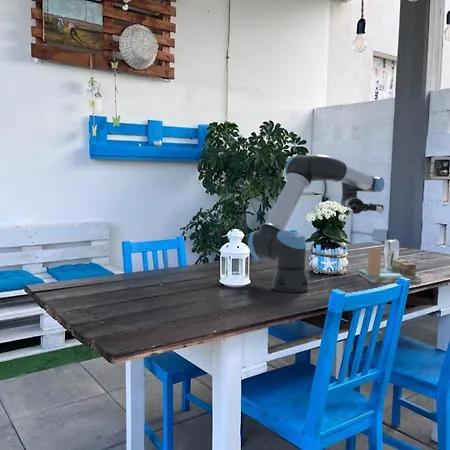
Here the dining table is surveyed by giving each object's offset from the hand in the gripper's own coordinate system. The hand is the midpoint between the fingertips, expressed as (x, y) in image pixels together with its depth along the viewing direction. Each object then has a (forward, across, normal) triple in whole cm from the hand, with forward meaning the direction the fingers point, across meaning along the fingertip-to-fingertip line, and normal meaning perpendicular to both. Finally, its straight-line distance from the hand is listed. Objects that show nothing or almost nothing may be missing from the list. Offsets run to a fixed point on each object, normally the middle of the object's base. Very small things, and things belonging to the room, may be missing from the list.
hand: (366, 211), depth 215 cm
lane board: (+5, -8, -30) cm, 32 cm away
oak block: (0, -15, -29) cm, 33 cm away
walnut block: (+9, -15, -28) cm, 33 cm away
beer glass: (-11, -14, -32) cm, 37 cm away
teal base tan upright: (+10, -8, -29) cm, 31 cm away
